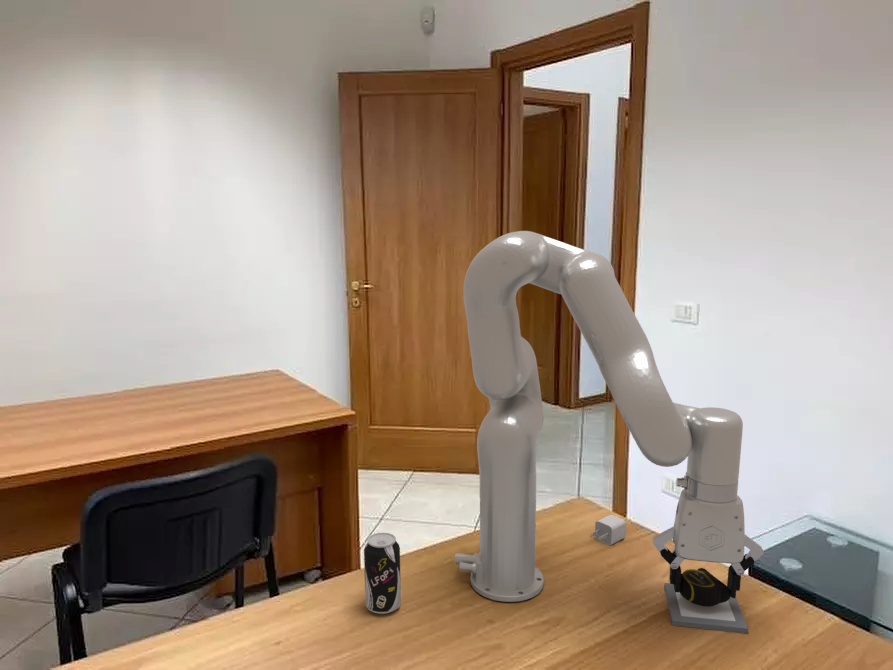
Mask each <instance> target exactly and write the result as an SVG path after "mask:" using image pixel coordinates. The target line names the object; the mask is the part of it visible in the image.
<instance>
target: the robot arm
mask: <svg viewBox="0 0 893 670" xmlns="http://www.w3.org/2000/svg"><path fill="white" fill-rule="evenodd" d="M527 284H531V285H533V286H537V287H539V288H542V289H545V290H547V291H550V292H553V293H555V294H559V295H561V296H562V299H563V301H564V303H565V305H566V307H567V308H568V311H569V312H570V314H571V316H572V318H573V320H574V322H575V324H576V326H577V327H578V329H579V331H580V333H581V334H582V337H583V339H584V340H585V342H586V344H587V347H588V348H589V350H590V352H591V353H592V354H591V355H592V356H593V357H594V360H595V361H596V364H597V366H598V368H599V371H600V374H601V375H602V378H603V380H604V382H605V384H606V385H607V387H608V389H609V391H610V394H611V395H612V397H613V401H614V403H615V404H616V406H617V409H618V412H620V415H621V417H622V419H623V420H624V422H625V425H626V427H627V428H628V430H629V432H630V434H631V436H632V438H633V440H634V441H635V444H636V446H637V448H638V449H639V451H640V452H641V454H642V456H644V458H646V459H647V460H648V461H649V462H650V463H652V464H654V465H656V466H659V467H666V468H667V467H668V468H669V467H674V466H677V465H679V464H681V463H683V462H684V461H685V460H686V459H687V462H686V463H687V465H686V471H685V475H683V477H676V481H675V482H676V483H675V484H676V487H678V488H680V487H681V488H683V489H682V490H681V492H680V495H679V496H678V497H679V498H678V501H677V506H676V511H675V516H674V517H675V518H674V522H673V523H674V524H673V526H672V527H668V528H667V529H666V530H664V531H662V532H659V533H658V534H655V536H653V537H652V543H653V545H654V547H655V548H656V550H657V551H658V553H659V554H660V556H661V558H663V559H664V561H666V563H668V565H669V577H668V578H669V579H668V581H669V583H670V584H673V585H674V589H675V592H680V585H681V574H682V567H681V565H682V563H683V562H684V561H685V560H686V561H687V560H689V561H697V562H708V563H709V562H710V563H717V564H718V563H719V564H730V565H729V566H728V569H727V572H728V573H727V580H726V581H727V582H726V586H727V587H728V588H729V589H730V591H731V595H730V597H732V598H736V599H737V591H738V592H740V590H741V581H742V576H743V575H745V572H746V570H748V569H749V568H751V567H752V566H754V565H755V563H756V561H759V559H760V558H761V557H762V556H763V555H764V553H765V551H764V548H763V546H761V545H760V544H759V543H757V542H756V541H754V540H753V539H752V538H750V537H749V536H748V535H746V534H745V531H746V529H745V528H746V527H745V513H744V512H745V511H744V510H745V509H744V503H743V499H742V498H741V497H740V496H739V495H738V490H739V477H740V475H739V474H740V463H741V452H742V440H743V439H742V438H743V431H744V430H743V426H744V425H743V419H742V418H741V415H739V414H738V413H737V412H734V411H733V410H729V409H726V408H721V407H701V408H700V407H694V406H690V405H685V404H681V403H676V402H673V400H672V398H671V396H670V394H669V392H668V390H667V388H666V385H665V383H664V381H663V379H662V377H661V374H660V372H659V369H658V366H657V364H656V360H655V356H654V353H653V348H652V347H651V346H652V345H651V344H650V342H649V340H648V337H647V335H646V333H645V331H644V330H643V328H642V326H641V324H640V322H639V320H638V318H637V317H636V314H635V313H634V311H633V309H632V307H631V305H630V303H629V301H628V299H627V297H626V295H625V293H624V291H623V289H622V287H621V285H620V283H619V281H618V280H617V278H616V275H615V270H614V267H613V265H612V264H611V262H610V261H609V260H608V259H607V258H606V257H604V256H603V255H601V254H599V253H597V252H594V251H590V250H587V249H584V248H581V247H577V246H575V245H571V244H569V243H567V242H563V241H560V240H557V239H555V238H551V237H549V236H546V235H543V234H541V233H537V232H534V231H530V230H518V231H511V232H508V233H506V234H503V235H501V236H499V237H496V238H495V239H493V240H492V241H491V242H489V243H488V244H487V245H485V246H484V247H483V248H482V249H481V250H480V251H479V252H477V254H476V255H475V256H474V257H473V259H472V260H471V261H470V264H469V266H468V268H467V270H466V273H465V276H464V280H463V290H462V291H463V303H464V310H465V317H466V318H465V319H466V327H467V328H466V329H467V336H468V338H467V339H468V342H469V343H468V344H469V350H470V357H471V358H470V359H471V366H472V367H471V368H472V374H473V375H472V376H473V381H474V382H475V386H476V387H477V389H478V390H479V392H480V393H481V394H482V395H484V396H485V397H486V398H488V402H489V411H487V414H486V415H485V416H484V418H483V420H482V422H481V424H480V426H479V429H478V432H477V439H476V449H477V459H478V460H477V462H478V472H479V473H478V474H479V551H478V553H477V552H474V553H473V554H467V553H460V552H456V553H455V556H454V564H455V565H459V567H458V569H459V571H460V572H461V571H462V572H471V573H470V584H471V586H472V588H473V590H475V592H477V593H478V594H479V595H481V596H483V597H485V598H487V599H489V600H491V601H492V600H493V601H495V602H497V601H498V602H505V603H516V602H523V601H526V600H529V599H532V598H534V597H536V596H537V595H538V594H539V593H541V591H542V590H543V588H544V584H545V582H544V579H545V578H544V575H543V572H542V571H541V570H540V568H538V566H536V535H537V533H536V530H537V528H536V526H537V523H536V522H537V446H538V442H539V438H540V434H541V432H542V430H543V425H544V417H545V416H544V408H543V407H544V406H543V400H542V391H541V383H540V378H539V377H540V376H539V370H538V363H537V361H538V360H537V357H536V354H535V351H534V348H533V347H532V345H531V344H530V342H529V341H528V340H526V338H524V337H523V336H522V334H521V328H520V317H519V316H520V315H519V311H518V307H517V305H518V304H517V299H516V297H517V293H518V291H519V289H520V288H521V287H524V286H525V285H527ZM669 541H673V544H674V549H673V550H672V551H671V550H670V549H669V548H668V547H667V546H666V545H665V544H666V543H668V542H669ZM745 547H746V548H747V549H748V550H749V551H748V553H746V554H745Z"/></svg>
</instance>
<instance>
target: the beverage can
mask: <svg viewBox="0 0 893 670" xmlns="http://www.w3.org/2000/svg"><path fill="white" fill-rule="evenodd" d="M363 561H364V562H363V566H364V592H365V594H364V595H365V596H364V597H365V600H364V602H365V606H366V608H367V610H368V611H370V612H372V613H374V614H376V615H377V614H378V615H387V614H389V613H392V612H394V611H397V609H398V608H400V606H401V603H402V593H401V587H402V586H401V585H402V583H401V548H400V544H399V542H397V538H396V536H395V535H394V534H392V533H390V532H389V533H388V532H377V533H372V534H371V535H370V536H368V538H367V542H366V544H365V546H364V547H363Z"/></svg>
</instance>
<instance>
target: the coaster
mask: <svg viewBox="0 0 893 670" xmlns="http://www.w3.org/2000/svg"><path fill="white" fill-rule="evenodd" d="M663 584H664V586H663V588H664V594H665V598H666V603H667V608H668V610H669V611H668V612H669V616H670V620H671V625H672V626H673V627H684V628H692V629H702V630H713V631H721V632H730V633H737V634H738V633H741V634H749V627H748V624H747V622H746V620H745V617H744V614H743V611H742V609H741V606H740V604H739V601H738V599H737V597H736V598H732V597H730V599H729V600H728V601H726V602H724V603H719V604H717V605H714V606H711V607H707V606H700V605H696V604H693V603H691V602H689V601H688V600H686V599H685V598H684V597H682V595H681V594H680V592H675V589H674V585H673V584H670V582H664V583H663Z"/></svg>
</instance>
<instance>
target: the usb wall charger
mask: <svg viewBox="0 0 893 670" xmlns="http://www.w3.org/2000/svg"><path fill="white" fill-rule="evenodd" d="M626 524H627V523H626V521H625V519H623V518H621V517H618V516H616V515H613V514H609V515H607V516H604V517H603V518H601V519H599V520H597V521H595V522H594V531H593V532H591V533H590V538H593V537H594V538H595V540H597V541H598V542H601V543H603V544H606V545H608V546H612V545H613V544H615V543H617V542H619V541H621V540H623V539H625V537H626V526H627V525H626Z"/></svg>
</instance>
